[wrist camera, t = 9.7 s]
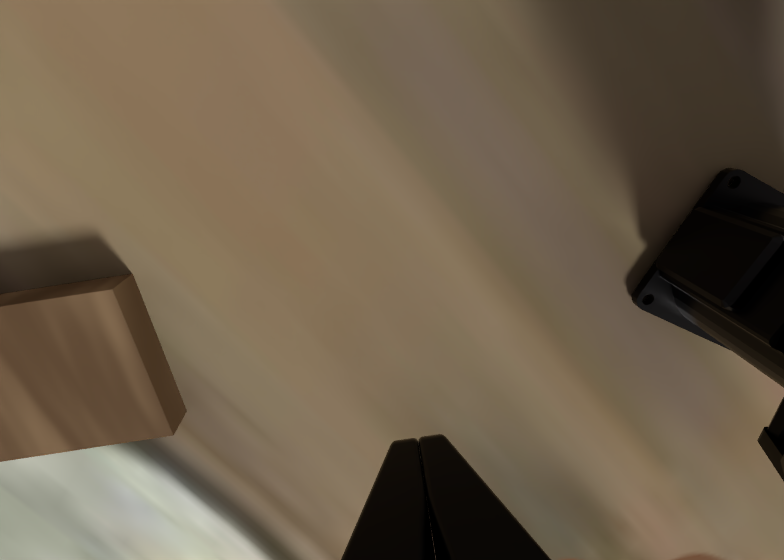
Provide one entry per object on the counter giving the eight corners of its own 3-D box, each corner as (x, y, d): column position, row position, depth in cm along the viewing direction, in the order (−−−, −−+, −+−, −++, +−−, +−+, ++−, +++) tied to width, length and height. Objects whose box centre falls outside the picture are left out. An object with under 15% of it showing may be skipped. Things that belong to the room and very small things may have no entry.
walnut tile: (112, 289, 17) (-151, 329, 17) (173, 435, 20) (-54, 469, 20) (137, 269, 19) (-100, 306, 19) (190, 405, 22) (-18, 437, 22)
